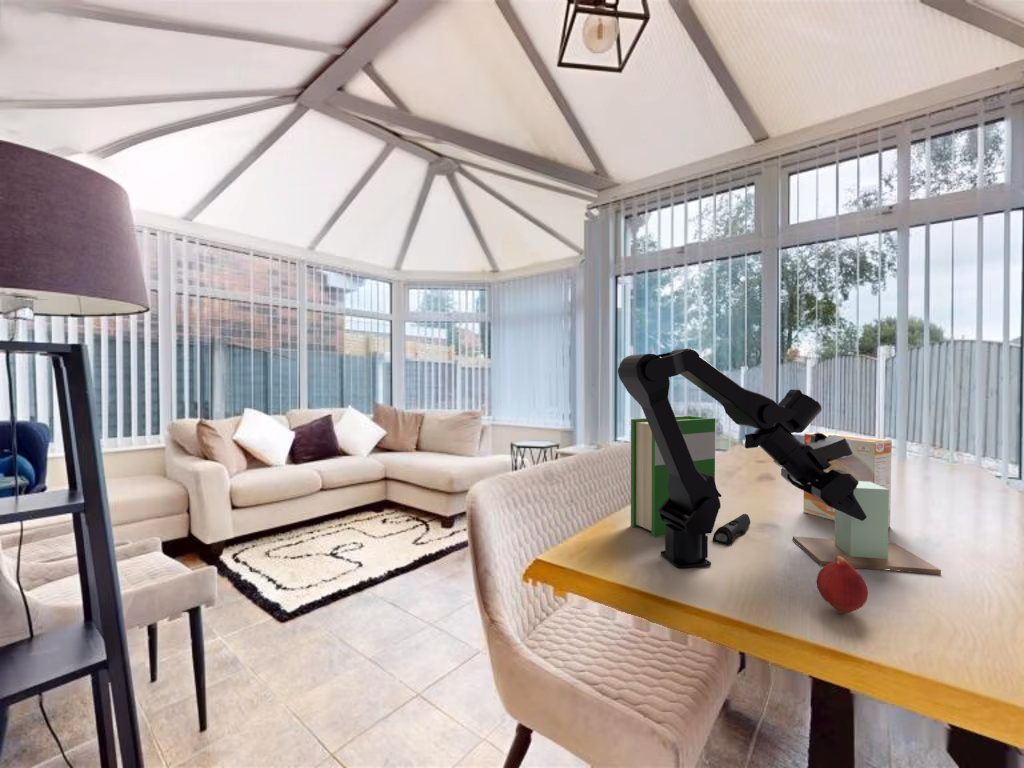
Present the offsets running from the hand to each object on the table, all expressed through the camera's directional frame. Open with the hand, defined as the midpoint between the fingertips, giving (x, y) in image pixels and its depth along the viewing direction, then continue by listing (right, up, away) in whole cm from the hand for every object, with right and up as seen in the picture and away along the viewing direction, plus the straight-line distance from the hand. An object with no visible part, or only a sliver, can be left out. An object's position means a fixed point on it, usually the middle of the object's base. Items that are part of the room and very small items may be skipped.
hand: (850, 511), depth 82 cm
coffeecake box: (+14, -8, +20) cm, 26 cm away
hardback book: (-27, -8, +17) cm, 33 cm away
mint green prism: (+2, -7, 0) cm, 8 cm away
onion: (-16, -9, -19) cm, 27 cm away
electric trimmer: (-16, -9, +12) cm, 22 cm away
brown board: (+2, -8, 0) cm, 8 cm away
